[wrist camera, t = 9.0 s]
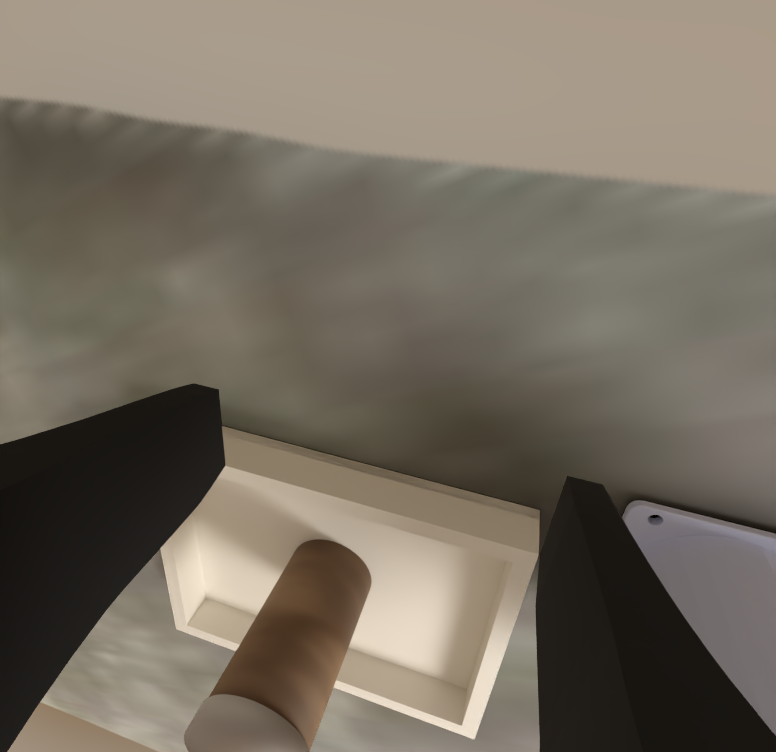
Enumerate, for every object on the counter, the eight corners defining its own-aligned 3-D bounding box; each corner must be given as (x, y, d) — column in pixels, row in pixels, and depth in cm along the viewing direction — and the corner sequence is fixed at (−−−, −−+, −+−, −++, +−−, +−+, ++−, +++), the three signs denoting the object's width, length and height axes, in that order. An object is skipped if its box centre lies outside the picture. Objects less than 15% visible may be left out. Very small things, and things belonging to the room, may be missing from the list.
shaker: (387, 568, 24) (314, 773, 16) (354, 616, 26) (277, 815, 19) (306, 523, 24) (197, 704, 17) (281, 574, 27) (174, 755, 19)
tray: (539, 509, 21) (538, 554, 19) (480, 691, 27) (474, 739, 25) (174, 413, 24) (138, 441, 22) (201, 594, 31) (176, 629, 29)
